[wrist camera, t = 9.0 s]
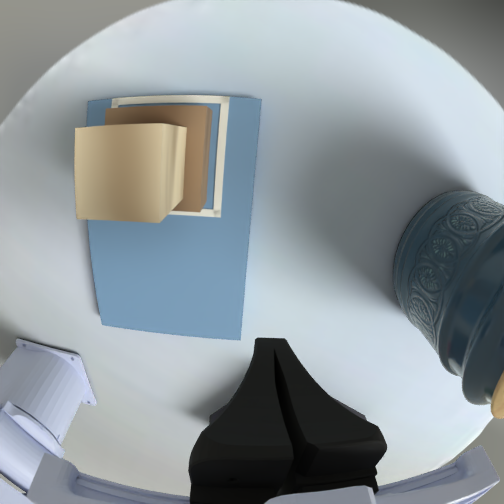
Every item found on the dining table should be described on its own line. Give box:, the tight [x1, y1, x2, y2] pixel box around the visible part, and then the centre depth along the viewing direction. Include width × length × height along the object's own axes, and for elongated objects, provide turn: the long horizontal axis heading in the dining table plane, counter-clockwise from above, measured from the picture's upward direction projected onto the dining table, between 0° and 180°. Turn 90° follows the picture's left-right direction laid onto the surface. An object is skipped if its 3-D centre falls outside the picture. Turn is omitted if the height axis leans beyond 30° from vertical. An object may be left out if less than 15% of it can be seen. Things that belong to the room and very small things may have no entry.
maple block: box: [74, 123, 187, 223], centre depth 13 cm, size 4×4×5 cm
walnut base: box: [105, 105, 213, 212], centre depth 17 cm, size 6×6×3 cm
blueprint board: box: [87, 95, 261, 340], centre depth 21 cm, size 12×18×1 cm, turn 175°
